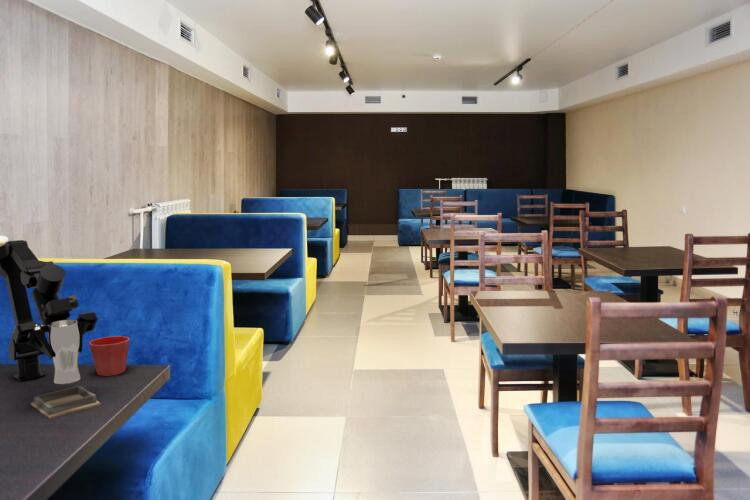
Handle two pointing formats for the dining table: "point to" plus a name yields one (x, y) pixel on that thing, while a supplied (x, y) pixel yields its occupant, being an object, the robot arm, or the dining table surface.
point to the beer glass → (65, 350)
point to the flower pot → (110, 354)
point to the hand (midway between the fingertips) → (66, 354)
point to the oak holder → (64, 401)
